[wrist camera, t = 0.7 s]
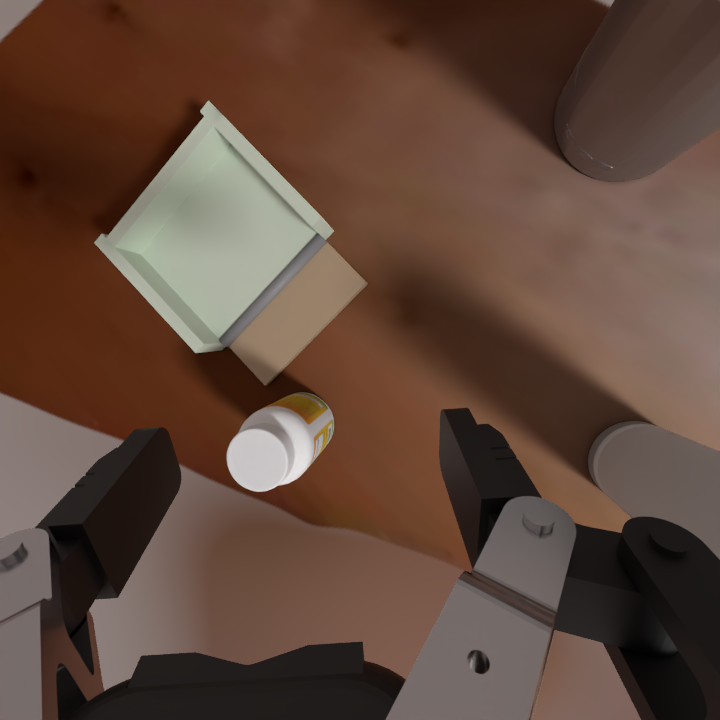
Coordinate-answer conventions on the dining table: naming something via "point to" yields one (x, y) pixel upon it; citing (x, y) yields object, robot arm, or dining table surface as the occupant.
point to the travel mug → (660, 477)
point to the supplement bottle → (280, 441)
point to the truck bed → (232, 252)
